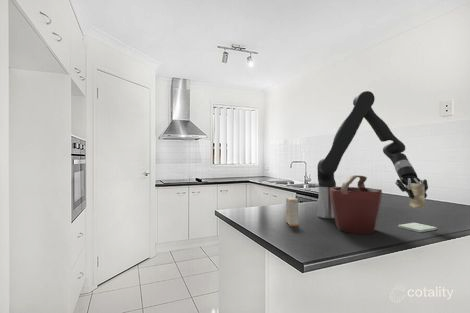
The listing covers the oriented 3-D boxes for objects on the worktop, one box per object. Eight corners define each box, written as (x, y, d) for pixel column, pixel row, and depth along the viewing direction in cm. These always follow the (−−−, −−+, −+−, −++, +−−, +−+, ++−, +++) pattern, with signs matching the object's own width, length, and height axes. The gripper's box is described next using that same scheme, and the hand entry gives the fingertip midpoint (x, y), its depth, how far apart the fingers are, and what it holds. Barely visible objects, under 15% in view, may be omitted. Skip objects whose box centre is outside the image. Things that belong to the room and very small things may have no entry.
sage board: (419, 232, 115) (419, 230, 115) (398, 227, 124) (398, 225, 124) (436, 229, 119) (436, 227, 119) (414, 224, 129) (414, 222, 129)
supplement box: (298, 226, 127) (298, 199, 127) (289, 226, 127) (288, 199, 127) (295, 222, 135) (295, 197, 135) (286, 222, 135) (285, 197, 135)
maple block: (414, 207, 120) (413, 184, 120) (409, 206, 124) (408, 183, 125) (424, 208, 119) (424, 184, 119) (419, 206, 124) (418, 183, 124)
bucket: (353, 221, 136) (352, 173, 137) (396, 231, 117) (395, 176, 117) (320, 227, 124) (319, 175, 125) (362, 239, 105) (361, 178, 105)
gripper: (392, 165, 130) (405, 192, 118) (423, 165, 129) (439, 192, 116) (387, 175, 136) (399, 202, 124) (417, 175, 134) (432, 202, 122)
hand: (419, 197), depth 120 cm, fingers closed on maple block, 4 cm apart
